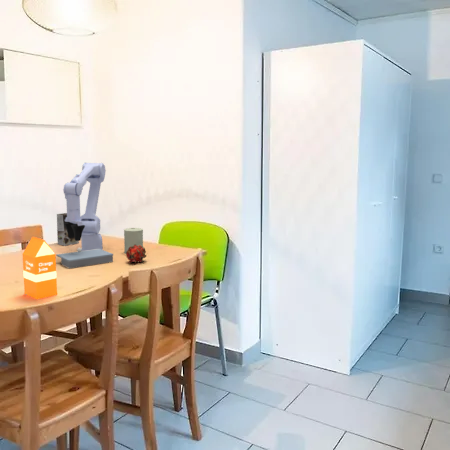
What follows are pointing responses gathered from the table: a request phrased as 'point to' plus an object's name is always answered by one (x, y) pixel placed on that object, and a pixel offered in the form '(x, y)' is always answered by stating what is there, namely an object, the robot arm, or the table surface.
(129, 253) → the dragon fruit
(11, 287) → the table surface
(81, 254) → the lid
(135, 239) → the can
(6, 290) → the table surface
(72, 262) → the grey hinged box
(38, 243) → the orange juice
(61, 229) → the coffee box
